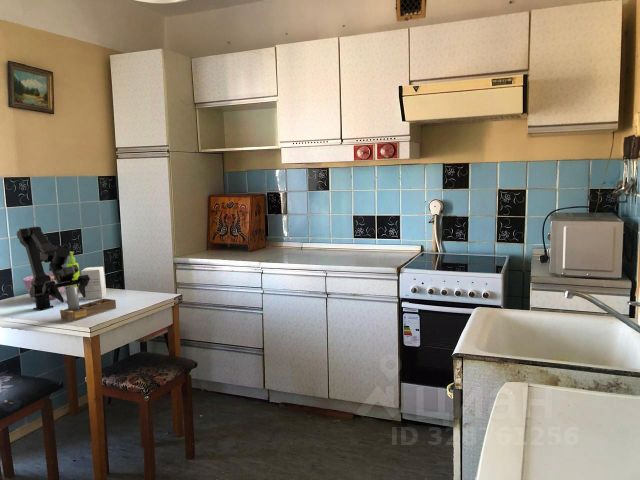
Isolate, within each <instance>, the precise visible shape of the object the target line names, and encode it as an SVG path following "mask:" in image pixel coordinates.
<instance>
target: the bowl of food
mask: <svg viewBox="0 0 640 480" xmlns="http://www.w3.org/2000/svg"><path fill="white" fill-rule="evenodd" d="M45 274H46V275H49V276H50V278H51V281H55V283H57V281H56V280H54V275H53V273H52V272H46V273H45ZM33 277H34V276H33V275H30V276H29V275H28V276H26V277H24V278H23V279H22V281H23V284H24V285H25V288H26V291H27V293H28V295H29V296H30V290H31V287H32V284H31V282H32V280H33ZM58 290H59V292H60V294H61V295H62V294H63V293H64V291H66V287H59V288H58ZM49 299H50V301H51V300H53V299H56V298H55V297H53V296H51V295H49Z"/></svg>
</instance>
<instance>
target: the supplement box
mask: <svg viewBox="0 0 640 480" xmlns="http://www.w3.org/2000/svg"><path fill="white" fill-rule="evenodd" d="M81 275H88V276H89V277H90V280H89V282H88V285H87V286H85V295H86V296H85V298H84V297H83V300H84V301H86V300H100V299H104V298H105V297H106V295H107V288H106V287H107V286H106V278H105V271H104V266H93V267H92V266H91V267H85V268H83V269H82V270H81V271H80V276H81Z"/></svg>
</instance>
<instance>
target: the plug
mask: <svg viewBox="0 0 640 480" xmlns="http://www.w3.org/2000/svg"><path fill="white" fill-rule="evenodd" d="M65 294H66V295H65V296H66V301H67V309H68V311H77V310H80V308H79V305H80V302H79V294H78V287H77V286H71V287H69V286H66V287H65Z"/></svg>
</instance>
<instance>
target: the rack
mask: <svg viewBox="0 0 640 480" xmlns="http://www.w3.org/2000/svg"><path fill="white" fill-rule="evenodd" d="M79 308H80V310H77V311H68V308H66V309H59V313H60V320H61V321H66V322H76V321H79V320H82V319H85V318H88V317H92V316H95V315H98V314H101V313H105V312H108V311H112V310H115V309H117V303H116V299H114V298H113V299H111V298H102V299H96V300H94V301H90V302H87V303H83V304H79Z"/></svg>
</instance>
